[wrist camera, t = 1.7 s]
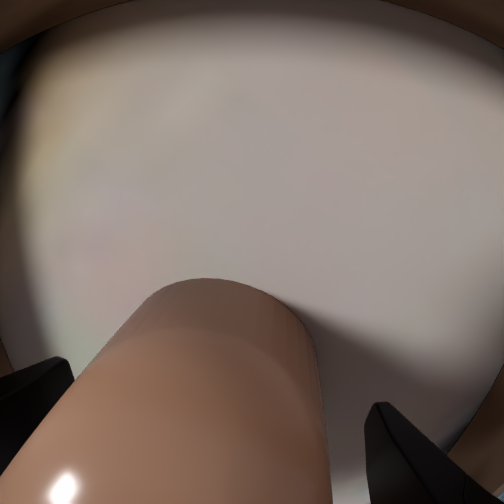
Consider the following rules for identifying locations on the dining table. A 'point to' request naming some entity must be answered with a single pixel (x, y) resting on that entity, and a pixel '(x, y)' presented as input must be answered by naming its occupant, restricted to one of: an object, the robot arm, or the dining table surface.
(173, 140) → the dining table surface
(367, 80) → the dining table surface
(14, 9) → the frame
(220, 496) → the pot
